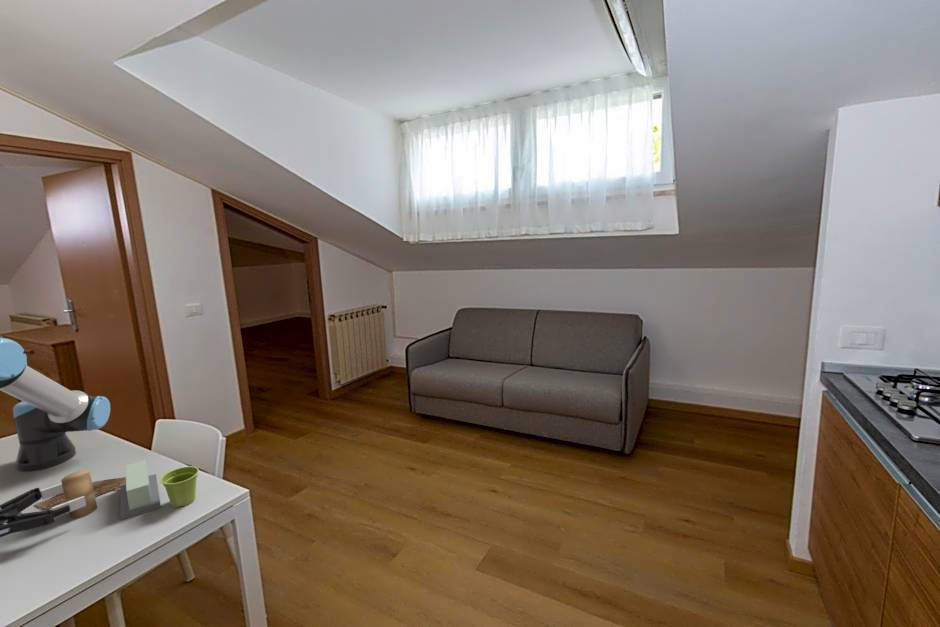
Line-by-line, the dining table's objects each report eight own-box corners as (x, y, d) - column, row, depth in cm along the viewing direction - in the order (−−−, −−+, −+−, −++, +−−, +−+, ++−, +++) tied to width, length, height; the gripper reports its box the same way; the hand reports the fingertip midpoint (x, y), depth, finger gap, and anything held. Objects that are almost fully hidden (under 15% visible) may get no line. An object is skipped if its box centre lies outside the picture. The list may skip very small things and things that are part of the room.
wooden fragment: (30, 516, 121) (29, 513, 121) (37, 498, 130) (36, 495, 130) (143, 484, 137) (143, 481, 137) (143, 470, 145) (143, 467, 145)
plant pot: (209, 495, 130) (206, 469, 128) (179, 514, 121) (175, 486, 120) (187, 489, 133) (183, 464, 131) (156, 507, 124) (152, 480, 123)
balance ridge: (121, 488, 134) (117, 466, 133) (156, 478, 140) (153, 456, 138) (121, 519, 119) (117, 495, 118) (160, 507, 124) (157, 483, 123)
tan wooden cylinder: (69, 511, 123) (62, 476, 121) (97, 502, 127) (90, 468, 125) (68, 521, 119) (60, 485, 117) (96, 511, 122) (89, 476, 120)
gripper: (-38, 527, 112) (69, 489, 129) (-27, 569, 98) (93, 520, 115) (-45, 501, 111) (65, 466, 128) (-34, 540, 96) (88, 495, 113)
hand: (78, 492), depth 121 cm, fingers open, 13 cm apart
